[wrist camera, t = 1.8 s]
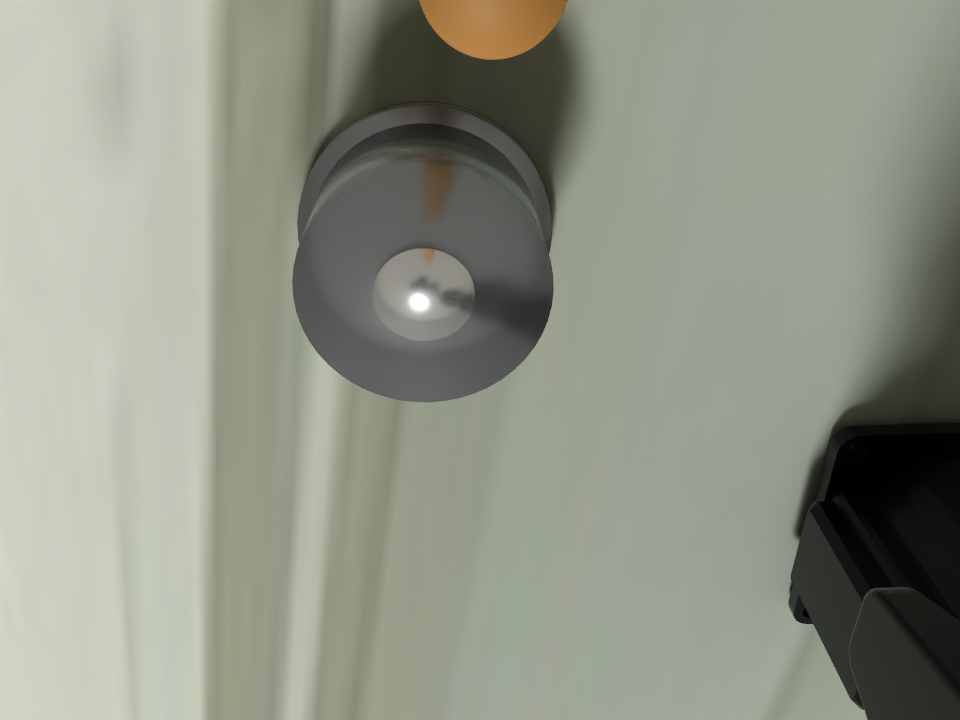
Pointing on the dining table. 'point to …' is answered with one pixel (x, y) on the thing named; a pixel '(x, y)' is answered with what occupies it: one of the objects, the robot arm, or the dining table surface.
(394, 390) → the cover
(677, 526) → the dining table surface
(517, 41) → the turntable
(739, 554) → the dining table surface
